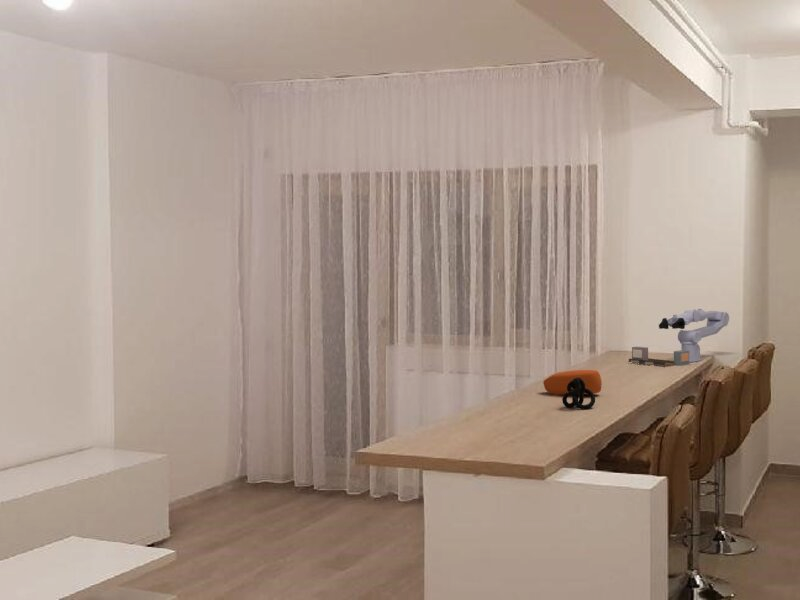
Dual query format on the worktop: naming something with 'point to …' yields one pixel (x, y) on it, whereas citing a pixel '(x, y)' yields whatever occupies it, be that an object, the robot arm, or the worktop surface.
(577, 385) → the squiggle
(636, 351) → the box
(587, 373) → the orange rounded block
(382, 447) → the worktop surface
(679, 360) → the box
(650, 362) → the shelf ledge
